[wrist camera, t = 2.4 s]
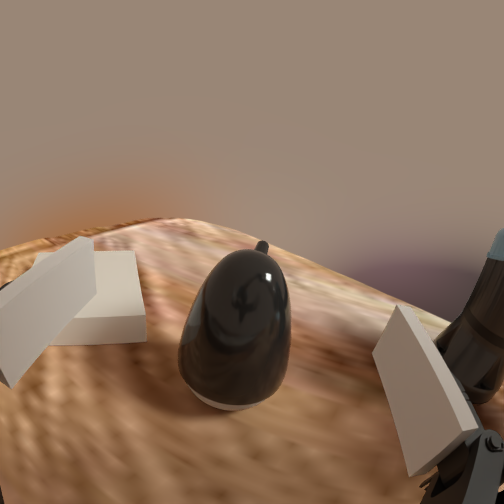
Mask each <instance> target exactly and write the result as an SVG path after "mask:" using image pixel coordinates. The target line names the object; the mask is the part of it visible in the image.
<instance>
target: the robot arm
mask: <svg viewBox="0 0 504 504" xmlns="http://www.w3.org/2000/svg"><path fill="white" fill-rule="evenodd" d="M487 257H488V258H487V260H486V263H485V265H484V267H483V270H482V272H481V274H480V277H479V279H478V281H477V283H476V285H475V287H474V289H473V292H472V293H471V296H470V297H469V299H468V301H467V303H466V305H465V307H464V309H463V311H462V313H461V314H460V315H459V316H458V317H457V318H456V319H455V320H454V321H453V322H452V323H451V324H450V325H449V326H448V327H447V328H446V329H445V330H444V331H443V332H441V333H440V334H439V335H438V336H437V338H436V339H435V340H434V342H433V341H432V340H431V338H430V336H429V335H428V333H427V332H426V330H425V328H424V327H423V325H422V324H421V322H420V320H419V319H418V317H417V316H416V314H415V313H414V311H413V310H412V308H411V307H408V306H402V305H396V307H395V310H394V312H393V314H392V316H391V318H390V320H389V322H388V324H387V326H386V328H385V330H384V331H383V333H382V335H381V337H380V339H379V341H378V343H377V345H376V346H375V348H374V350H373V352H372V355H373V358H374V361H375V364H376V366H377V369H378V372H379V375H380V378H381V381H382V384H383V387H384V390H385V393H386V396H387V400H388V403H389V406H390V409H391V413H392V416H393V419H394V423H395V426H396V429H397V433H398V437H399V440H400V444H401V448H402V451H403V455H404V459H405V463H406V467H407V471H408V475H409V477H412V476H417V475H422V474H426V473H427V472H429V471H430V470H431V469H432V468H434V467H435V466H436V465H437V467H438V470H439V471H438V472H436V473H435V474H434V475H432V476H431V477H430V478H428V479H427V480H425V481H424V482H423V483H422V484H421V485H420V486H419V487H421V488H422V487H423V486H425V485H426V484H428V483H429V482H430V484H429V486H428V487H426V488H425V489H424V490H426V493H425V495H424V497H423V499H422V501H421V503H420V504H504V490H503V491H501V492H498V489H499V486H501V485H502V484H503V483H504V441H503V439H502V437H501V436H500V435H499V434H498V433H497V432H496V431H494V430H491V429H490V430H484V428H483V426H482V424H481V421H480V419H479V417H478V415H477V413H476V411H475V409H474V407H473V405H472V403H477V404H479V403H485V402H487V401H489V400H490V399H491V398H492V397H493V396H494V395H495V394H496V392H497V391H498V390H499V389H500V387H501V385H502V383H503V380H504V228H503V229H501V230H500V231H499V232H498V233H497V235H496V237H495V240H494V242H493V244H492V247H491V249H490V251H489V252H488V253H487ZM96 294H97V291H96V279H95V264H94V240H93V239H90V238H86V237H82V236H79V237H78V238H76V239H74V240H73V241H71V242H70V243H68V244H66V245H65V246H63V247H62V248H60V249H59V250H57V251H56V252H54V253H53V254H51V255H50V256H48V257H47V258H45V259H44V260H42V261H41V262H39V263H38V264H36V265H35V266H33V267H32V268H31V269H29V270H28V271H26V272H25V273H23V274H22V275H21V276H19V277H18V278H17V279H15V280H13V281H11V282H8V283H6V284H5V285H3V286H2V287H1V288H0V381H1V382H2V383H3V384H5V385H6V386H8V387H9V388H10V389H12V388H13V387H14V386H15V384H16V383H17V382H18V381H19V379H20V378H21V377H22V376H23V374H24V373H25V372H26V371H27V370H28V368H29V367H30V366H31V365H32V364H33V362H34V361H35V360H36V359H37V358H38V357H39V355H40V354H41V353H42V352H43V351H44V350H45V348H46V347H47V346H48V345H49V344H50V343H51V342H52V341H53V339H54V338H55V337H56V336H57V335H58V334H59V333H60V332H61V331H62V329H63V328H64V327H65V326H66V325H67V324H68V323H69V322H70V321H71V320H72V319H73V318H74V317H75V316H76V314H77V313H78V312H79V311H80V310H81V309H82V308H83V307H84V306H85V305H86V304H87V303H88V302H89V301H90V300H91V299H92V298H93V297H94V296H95V295H96ZM0 504H4V500H3V496H2V492H1V487H0Z"/></svg>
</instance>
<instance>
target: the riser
mask: <svg viewBox="0 0 504 504" xmlns="http://www.w3.org/2000/svg"><path fill="white" fill-rule="evenodd" d="M53 253H54V252H46V253H38V256H37V258H36V260H35V262H34V264H33V266H35V265H36V264H38V263H39V262H41V261H42V260H44V259H45V258H47V257H48V256H50V255H51V254H53ZM94 264H95V279H96V291H97V294H96V295H95V296H94V297H93V298H92V299H91V300H90V301H89V302H88V303H87V304H86V305H85V306H84V307H83V308H82V309H81V310H80V311H79V312H78V313H77V314H76V316H75V317H74V318H73V319H72V320H71V321H70V322H69V323H68V324H67V325H66V326H65V327H64V328H63V329H62V331H61V332H60V333H59V334H58V335H57V336H56V337H55V338H54V339H53V341H52V342H51V343H50V344H49V345H48V346H59V345H100V344H120V343H135V342H147V333H146V314H145V309H144V304H143V299H142V294H141V288H140V283H139V277H138V271H137V265H136V258H135V252H134V251H94ZM33 266H32V267H33Z"/></svg>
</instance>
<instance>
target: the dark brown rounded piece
mask: <svg viewBox="0 0 504 504" xmlns="http://www.w3.org/2000/svg"><path fill="white" fill-rule="evenodd" d="M268 248H269V245H268V243H267V242H265V241H259V242H258V243H257V245H256V247H255V249H254V250H251V249H244V250H238V251H235V252H232V253H230V254H228V255H227V256H225V257H224V258H223V259H222V260H221V261H220V262H219V263H218V264H217V265H216V266H215V267H214V268H213V269H212V271H211V272H210V273H209V275H208V276H207V278H206V279H205V281H204V282H203V284H202V286H201V287H200V289H199V291H198V293H197V295H196V297H195V300H194V302H193V304H192V306H191V309H190V311H189V314H188V316H187V319H186V322H185V325H184V328H183V331H182V335H181V339H180V343H179V349H178V367H179V371H180V373H181V375H182V377H183V379H184V380H185V382H186V383H187V385H188V387H189V388H190V390H191V391H192V392H193V393H194V394H195V395H196V396H197V397H198V398H199V399H200V400H202V401H203V402H205V403H206V404H208V405H210V406H213V407H215V408H218V409H223V410H232V411H235V410H244V409H248V408H251V407H253V406H256V405H258V404H259V403H261V402H262V401H264V400H265V399H267V398H269V397H270V396H271V395H273V394H274V393H275V392H276V391H277V390H278V389H279V387H280V386H281V384H282V382H283V379H284V377H285V374H286V370H287V366H288V360H289V354H290V346H291V304H290V297H289V291H288V287H287V283H286V280H285V278H284V275H283V273H282V270H281V268H280V267H279V265H278V264H277V263H276V261H275V260H274V259H272V258H271V257H270V256H268V255H267V252H268Z"/></svg>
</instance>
